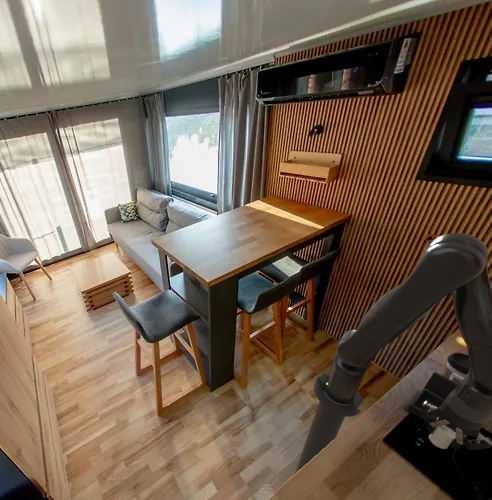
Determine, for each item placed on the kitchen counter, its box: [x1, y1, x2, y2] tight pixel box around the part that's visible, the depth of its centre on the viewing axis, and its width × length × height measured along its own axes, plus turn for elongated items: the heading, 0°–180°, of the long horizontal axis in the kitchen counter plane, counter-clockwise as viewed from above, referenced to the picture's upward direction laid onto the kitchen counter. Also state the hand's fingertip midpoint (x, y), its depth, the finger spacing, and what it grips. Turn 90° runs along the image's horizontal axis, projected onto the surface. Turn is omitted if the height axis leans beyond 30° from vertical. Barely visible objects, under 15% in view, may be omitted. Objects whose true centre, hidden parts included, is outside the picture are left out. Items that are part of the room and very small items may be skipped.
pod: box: [428, 425, 456, 450], centre depth 77 cm, size 4×4×7 cm
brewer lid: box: [423, 371, 464, 400], centre depth 86 cm, size 11×11×5 cm
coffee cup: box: [440, 352, 471, 384], centre depth 92 cm, size 8×8×15 cm
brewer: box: [406, 387, 445, 425], centre depth 88 cm, size 10×11×4 cm
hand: (441, 437), depth 77 cm, fingers closed on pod, 4 cm apart
